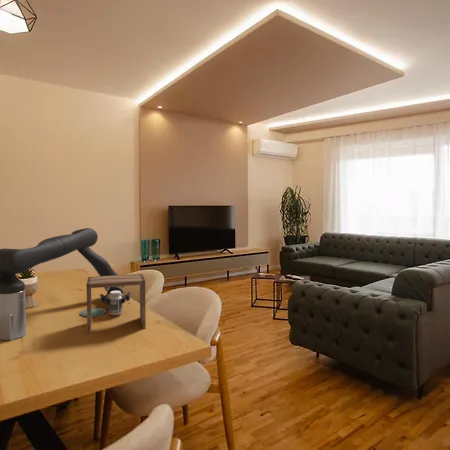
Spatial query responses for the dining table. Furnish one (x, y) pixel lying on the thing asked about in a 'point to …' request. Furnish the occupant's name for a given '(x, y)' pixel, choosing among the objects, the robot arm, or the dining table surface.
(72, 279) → the dining table surface
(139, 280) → the cubby
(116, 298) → the pill bottle
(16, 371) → the dining table surface
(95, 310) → the mat
